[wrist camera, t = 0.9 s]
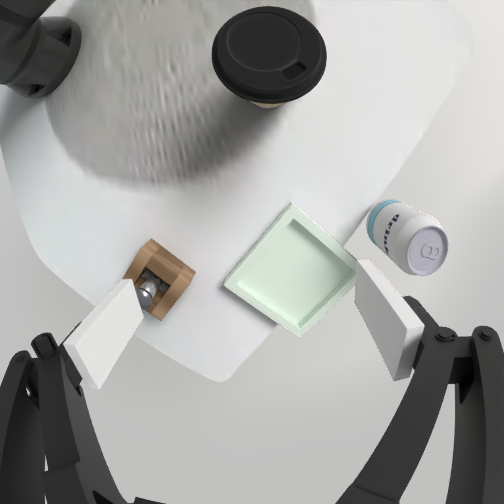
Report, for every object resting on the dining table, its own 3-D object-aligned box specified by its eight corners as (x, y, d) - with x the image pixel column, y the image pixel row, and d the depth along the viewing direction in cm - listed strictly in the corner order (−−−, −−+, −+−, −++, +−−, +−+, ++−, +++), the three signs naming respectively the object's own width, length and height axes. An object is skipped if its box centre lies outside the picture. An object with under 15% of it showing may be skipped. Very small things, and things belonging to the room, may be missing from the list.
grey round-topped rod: (148, 275, 40) (127, 300, 33) (157, 262, 39) (136, 285, 32) (163, 286, 41) (145, 313, 34) (172, 273, 40) (154, 299, 33)
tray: (225, 278, 40) (223, 285, 38) (291, 202, 36) (292, 204, 34) (298, 330, 43) (299, 337, 41) (363, 265, 38) (367, 271, 36)
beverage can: (369, 193, 35) (411, 213, 23) (411, 203, 35) (459, 226, 23) (359, 241, 37) (393, 278, 26) (399, 248, 37) (441, 284, 26)
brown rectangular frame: (151, 238, 38) (140, 247, 34) (195, 271, 40) (189, 284, 36) (124, 283, 41) (113, 295, 37) (164, 313, 43) (156, 327, 39)
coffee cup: (286, 133, 33) (302, 120, 19) (217, 104, 32) (186, 74, 17) (316, 72, 29) (348, 28, 15) (248, 44, 28) (239, -14, 14)
